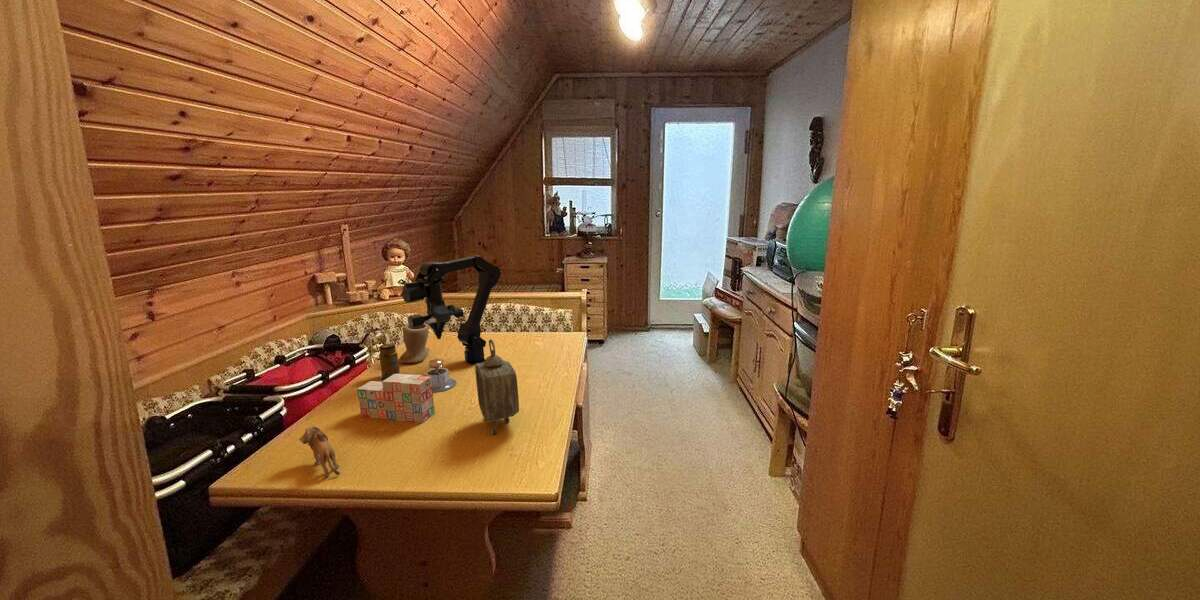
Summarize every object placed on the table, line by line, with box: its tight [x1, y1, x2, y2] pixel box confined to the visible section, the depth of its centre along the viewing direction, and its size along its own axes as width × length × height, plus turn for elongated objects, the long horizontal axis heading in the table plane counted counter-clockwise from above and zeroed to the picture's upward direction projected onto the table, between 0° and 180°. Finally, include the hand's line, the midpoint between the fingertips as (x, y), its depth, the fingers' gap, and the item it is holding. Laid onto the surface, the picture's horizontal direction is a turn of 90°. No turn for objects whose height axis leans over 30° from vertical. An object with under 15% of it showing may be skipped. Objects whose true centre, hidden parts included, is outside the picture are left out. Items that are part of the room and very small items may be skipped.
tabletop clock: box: [474, 338, 520, 435], centre depth 133 cm, size 14×9×25 cm, turn 23°
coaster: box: [433, 377, 457, 394], centre depth 164 cm, size 12×12×1 cm
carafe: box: [423, 367, 451, 389], centre depth 163 cm, size 10×8×5 cm
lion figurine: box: [298, 425, 341, 479], centre depth 116 cm, size 15×5×9 cm, turn 53°
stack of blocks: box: [356, 373, 436, 424], centre depth 142 cm, size 21×6×12 cm, turn 76°
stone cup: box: [398, 322, 431, 364], centre depth 191 cm, size 15×12×15 cm
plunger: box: [428, 358, 444, 375], centre depth 163 cm, size 5×5×8 cm
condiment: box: [377, 343, 401, 382], centre depth 172 cm, size 7×8×12 cm
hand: (439, 338), depth 174 cm, fingers closed
